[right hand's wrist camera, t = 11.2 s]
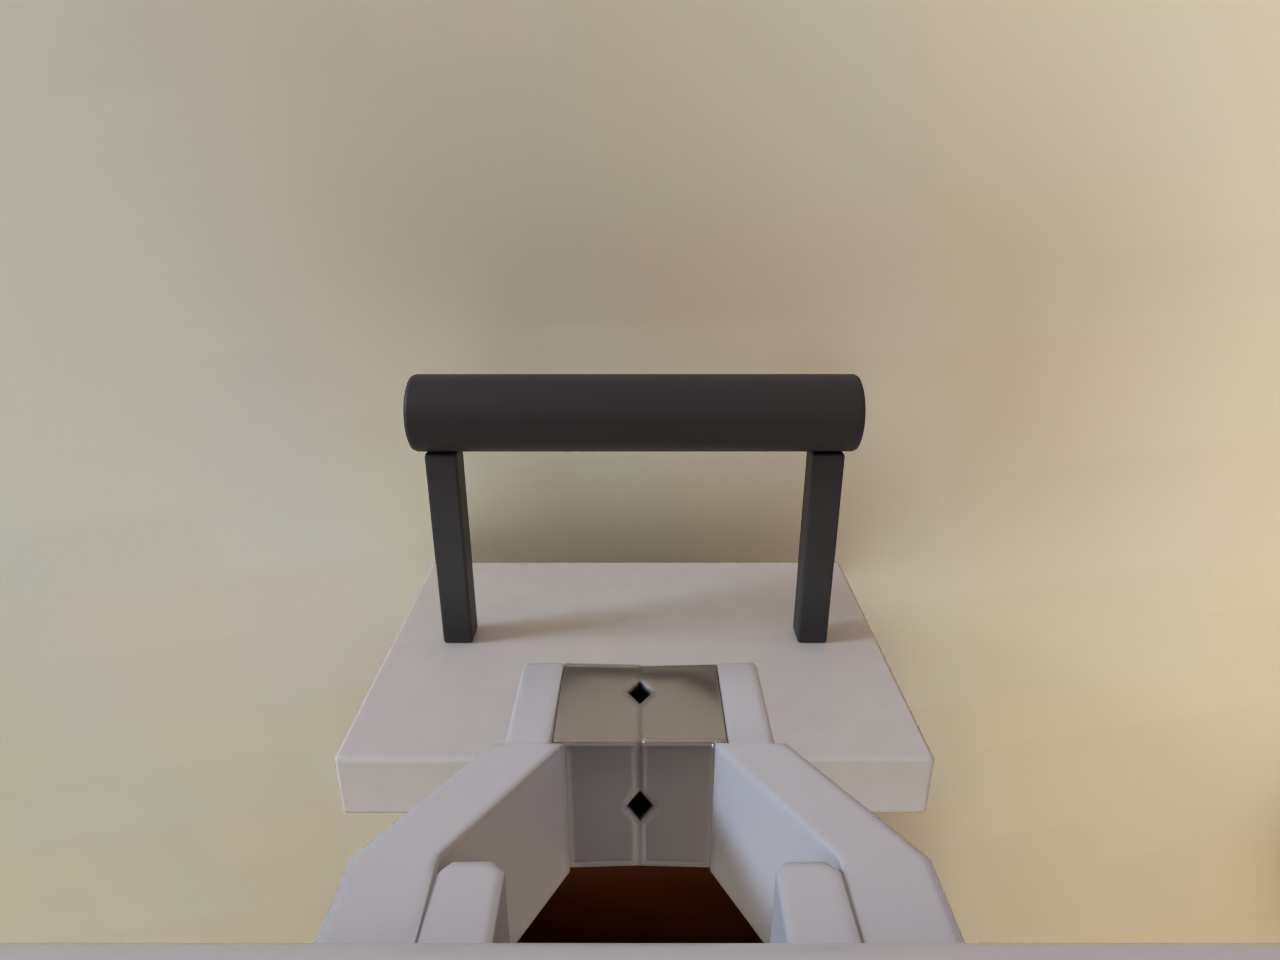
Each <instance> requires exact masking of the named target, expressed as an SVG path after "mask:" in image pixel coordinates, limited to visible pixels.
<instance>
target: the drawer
mask: <svg viewBox="0 0 1280 960" xmlns="http://www.w3.org/2000/svg"><path fill="white" fill-rule="evenodd" d="M403 411H404V426H405V432H406V436H407V439H408V442H409V444H410V446H411V448H412V449H413V450H416V451H428V452H427V453H426V455H425V463H426V472H427V482H428V492H429V501H430V511H431V521H432V530H433V540H434V549H435V559H436V563H434V564H433V565H432V567H431V569H430V571H429V572H428V574H427V576H426V578H425V580H424V582H423V584H422V586H421V588H420V590H419V592H418V594H417V596H416V598H415V600H414V602H413V604H412V606H411V608H410V610H409V612H408V614H407V616H406V618H405V620H404V622H403V624H402V626H401V628H400V630H399V632H398V634H397V636H396V638H395V640H394V642H393V644H392V646H391V648H390V650H389V652H388V654H387V656H386V658H385V660H384V662H383V664H382V666H381V667H380V669H379V671H378V673H377V675H376V677H375V679H374V681H373V683H372V685H371V687H370V689H369V691H368V693H367V695H366V697H365V699H364V701H363V703H362V705H361V707H360V709H359V711H358V713H357V715H356V717H355V719H354V721H353V723H352V725H351V727H350V729H349V731H348V733H347V735H346V737H345V739H344V741H343V743H342V745H341V747H340V749H339V751H338V753H337V755H336V757H335V765H336V771H337V777H338V783H339V788H340V794H341V800H342V806H343V810H344V812H347V813H408V812H409V811H410V810H411V809H413V808H414V807H415V806H416V805H418V804H419V803H420V802H421V801H423V800H424V799H425V798H426V797H428V796H429V795H430V794H431V793H433V792H434V791H435V790H436V789H438V788H439V787H440V786H441V785H443V784H444V783H445V782H446V781H448V780H449V779H450V778H451V777H453V776H454V775H455V774H456V773H458V772H459V771H460V770H461V769H463V768H464V767H465V766H466V765H468V764H469V763H470V762H471V761H473V760H474V759H475V758H477V757H478V756H479V755H480V754H482V753H483V752H484V751H485V750H487V749H488V748H489V747H490V746H492V745H493V744H494V743H506V738H507V734H508V730H509V725H510V721H511V717H512V712H513V708H514V704H515V699H516V695H517V691H518V686H519V682H520V678H521V673H522V669H523V668H524V666H525V665H526V664H527V663H563V664H564V665H565V663H579V664H627V665H640V666H659V665H715V664H725V663H754V664H755V665H756V666H757V670H758V674H759V679H760V683H761V687H762V692H763V696H764V700H765V704H766V709H767V713H768V717H769V721H770V726H771V730H772V734H773V739H774V743H786V744H787V745H788V746H790V747H791V748H792V749H793V750H795V751H796V752H797V753H798V754H800V755H801V756H802V757H803V758H805V759H806V760H807V761H808V762H810V763H811V764H812V765H813V766H815V767H816V768H817V769H818V770H820V771H821V772H822V773H823V774H825V775H826V776H827V777H828V778H830V779H831V780H832V781H833V782H835V783H836V784H837V785H838V786H840V787H841V788H842V789H843V790H845V791H846V792H847V793H848V794H850V795H851V796H852V797H853V798H855V799H856V800H857V801H858V802H860V803H861V804H862V805H863V806H865V807H866V808H867V809H868V810H870V811H871V812H924V811H925V809H926V804H927V798H928V792H929V786H930V780H931V774H932V768H933V761H934V758H933V755H932V753H931V751H930V749H929V747H928V745H927V743H926V741H925V739H924V737H923V735H922V733H921V731H920V729H919V727H918V725H917V723H916V721H915V718H914V716H913V714H912V712H911V710H910V708H909V706H908V704H907V702H906V700H905V698H904V696H903V694H902V692H901V690H900V688H899V686H898V684H897V682H896V680H895V677H894V675H893V673H892V671H891V669H890V667H889V665H888V663H887V661H886V659H885V657H884V655H883V653H882V651H881V649H880V647H879V645H878V643H877V641H876V639H875V637H874V634H873V632H872V630H871V628H870V626H869V624H868V622H867V620H866V618H865V616H864V614H863V612H862V610H861V608H860V606H859V604H858V602H857V600H856V598H855V596H854V594H853V591H852V589H851V587H850V585H849V583H848V581H847V579H846V577H845V575H844V573H843V571H842V569H841V567H840V565H839V564H838V563H834V559H835V549H836V539H837V529H838V518H839V508H840V498H841V488H842V478H843V468H844V458H845V456H844V454H843V452H842V451H853V450H856V449H857V448H858V447H859V445H860V442H861V439H862V436H863V432H864V425H865V395H864V390H863V386H862V383H861V380H860V378H859V377H858V376H856V375H854V374H416V375H413V376H412V377H410V379H409V380H408V383H407V386H406V390H405V395H404V409H403ZM463 451H807V458H806V471H805V483H804V496H803V508H802V521H801V533H800V546H799V558H798V563H472V555H471V543H470V532H469V520H468V508H467V496H466V485H465V473H464V461H463ZM517 943H763V941H762V940H761V939H760V937H759V936H758V934H757V933H756V932H755V930H754V929H753V928H752V926H751V925H750V924H749V922H748V921H747V920H746V918H745V917H744V916H743V914H742V913H741V912H740V910H739V909H738V908H737V906H736V905H735V904H734V902H733V901H732V899H731V898H730V897H729V895H728V894H727V893H726V891H725V890H724V889H723V887H722V886H721V885H720V883H719V882H718V881H717V879H716V878H715V877H714V875H713V874H712V873H711V871H710V867H681V866H645V865H633V866H598V867H570V872H569V873H568V875H567V876H566V877H565V879H564V880H563V881H562V883H561V884H560V885H559V887H558V888H557V889H556V891H555V892H554V893H553V895H552V896H551V898H550V899H549V900H548V902H547V903H546V904H545V906H544V907H543V908H542V910H541V911H540V912H539V914H538V915H537V916H536V918H535V919H534V920H533V922H532V923H531V924H530V926H529V927H528V928H527V930H526V931H525V932H524V934H523V935H522V936H521V938H520V939H519V940H518V942H517Z"/></svg>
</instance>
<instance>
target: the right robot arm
mask: <svg viewBox="0 0 1280 960" xmlns="http://www.w3.org/2000/svg"><path fill="white" fill-rule="evenodd" d="M633 865H645V866H681V867H710V871H711V873H712V874H713V875H714V877H715V878H716V879H717V881H718V882H719V883H720V885H721V886H722V887H723V889H724V890H725V891H726V893H727V894H728V895H729V897H730V898H731V899H732V901H733V902H734V904H735V905H736V906H737V908H738V909H739V910H740V912H741V913H742V914H743V916H744V917H745V918H746V920H747V921H748V922H749V924H750V925H751V926H752V928H753V929H754V930H755V932H756V933H757V934H758V936H759V937H760V939H761V940H762V941H763V943H517V942H518V940H519V939H520V938H521V936H522V935H523V934H524V932H525V931H526V930H527V928H528V927H529V926H530V924H531V923H532V922H533V920H534V919H535V918H536V916H537V915H538V914H539V912H540V911H541V910H542V908H543V907H544V906H545V904H546V903H547V902H548V900H549V899H550V898H551V896H552V895H553V893H554V892H555V891H556V889H557V888H558V887H559V885H560V884H561V883H562V881H563V880H564V879H565V877H566V876H567V875H568V873H569V872H570V867H598V866H633ZM0 960H1280V943H965V942H964V939H963V937H962V934H961V932H960V930H959V927H958V925H957V922H956V920H955V917H954V915H953V913H952V910H951V908H950V905H949V903H948V900H947V898H946V896H945V893H944V891H943V888H942V886H941V883H940V881H939V879H938V876H937V874H936V871H935V869H934V866H933V864H932V862H931V859H929V858H928V857H927V856H926V855H924V854H923V853H922V852H921V851H919V850H918V849H917V848H916V847H914V846H913V845H912V844H911V843H909V842H908V841H907V840H906V839H904V838H903V837H902V836H901V835H899V834H898V833H897V832H896V831H894V830H893V829H892V828H891V827H889V826H888V825H887V824H886V823H885V822H883V821H882V820H881V819H880V818H878V817H877V816H876V815H875V814H873V813H872V812H871V811H870V810H868V809H867V808H866V807H865V806H863V805H862V804H861V803H860V802H858V801H857V800H856V799H855V798H853V797H852V796H851V795H850V794H848V793H847V792H846V791H845V790H843V789H842V788H841V787H840V786H838V785H837V784H836V783H835V782H833V781H832V780H831V779H830V778H828V777H827V776H826V775H825V774H823V773H822V772H821V771H820V770H818V769H817V768H816V767H815V766H813V765H812V764H811V763H810V762H808V761H807V760H806V759H805V758H803V757H802V756H801V755H800V754H798V753H797V752H796V751H795V750H793V749H792V748H791V747H790V746H788V745H787V744H786V743H774V739H773V734H772V730H771V726H770V721H769V717H768V713H767V709H766V704H765V700H764V696H763V692H762V687H761V683H760V679H759V674H758V670H757V666H756V665H755V664H754V663H725V664H715V665H659V666H640V665H627V664H579V663H565V665H564V664H563V663H527V664H526V665H525V666H524V668H523V669H522V673H521V678H520V682H519V686H518V691H517V695H516V699H515V704H514V708H513V712H512V717H511V721H510V725H509V730H508V734H507V738H506V743H494V744H493V745H492V746H490V747H489V748H488V749H487V750H485V751H484V752H483V753H482V754H480V755H479V756H478V757H477V758H475V759H474V760H473V761H471V762H470V763H469V764H468V765H466V766H465V767H464V768H463V769H461V770H460V771H459V772H458V773H456V774H455V775H454V776H453V777H451V778H450V779H449V780H448V781H446V782H445V783H444V784H443V785H441V786H440V787H439V788H438V789H436V790H435V791H434V792H433V793H431V794H430V795H429V796H428V797H426V798H425V799H424V800H423V801H421V802H420V803H419V804H418V805H416V806H415V807H414V808H413V809H411V810H410V811H409V812H408V813H406V814H405V815H404V816H403V817H401V818H400V819H399V820H398V821H396V822H395V823H394V824H393V825H391V826H390V827H389V828H388V829H386V830H385V831H384V832H383V833H381V834H380V835H379V836H378V837H376V838H375V839H374V840H373V841H371V842H370V843H369V844H367V845H366V846H365V847H364V848H362V849H361V850H360V851H359V852H357V853H356V854H355V855H354V856H352V857H351V858H350V860H349V863H348V865H347V867H346V870H345V872H344V875H343V877H342V879H341V882H340V884H339V886H338V889H337V891H336V894H335V896H334V898H333V901H332V903H331V906H330V908H329V910H328V913H327V915H326V918H325V920H324V922H323V925H322V927H321V929H320V932H319V934H318V937H317V939H316V941H315V943H0Z"/></svg>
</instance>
